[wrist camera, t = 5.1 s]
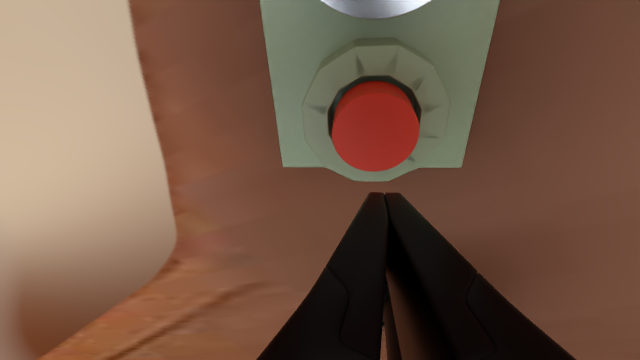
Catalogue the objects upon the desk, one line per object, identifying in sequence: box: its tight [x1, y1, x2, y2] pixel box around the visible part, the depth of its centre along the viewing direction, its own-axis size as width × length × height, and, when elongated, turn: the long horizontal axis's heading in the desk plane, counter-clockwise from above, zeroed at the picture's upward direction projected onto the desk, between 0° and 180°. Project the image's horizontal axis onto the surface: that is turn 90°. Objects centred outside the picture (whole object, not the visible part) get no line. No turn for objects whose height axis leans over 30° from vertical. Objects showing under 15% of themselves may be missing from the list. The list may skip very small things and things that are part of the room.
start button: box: [332, 81, 419, 172], centre depth 14 cm, size 4×4×2 cm
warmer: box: [260, 0, 500, 181], centre depth 13 cm, size 15×10×4 cm, turn 3°
